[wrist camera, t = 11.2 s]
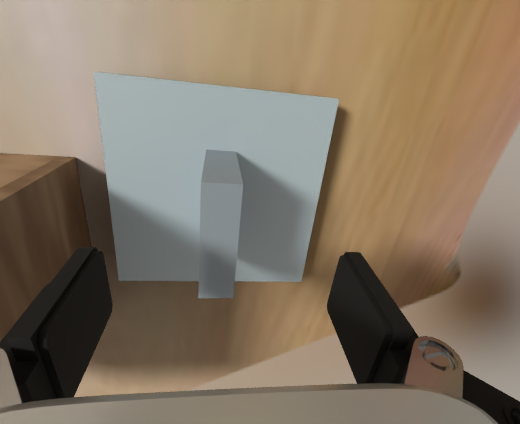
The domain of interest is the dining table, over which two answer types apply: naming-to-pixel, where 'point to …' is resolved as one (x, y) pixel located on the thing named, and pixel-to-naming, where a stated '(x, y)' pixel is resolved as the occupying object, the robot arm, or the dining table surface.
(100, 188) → the dining table surface
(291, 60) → the dining table surface
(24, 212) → the crate
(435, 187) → the dining table surface
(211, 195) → the lid
